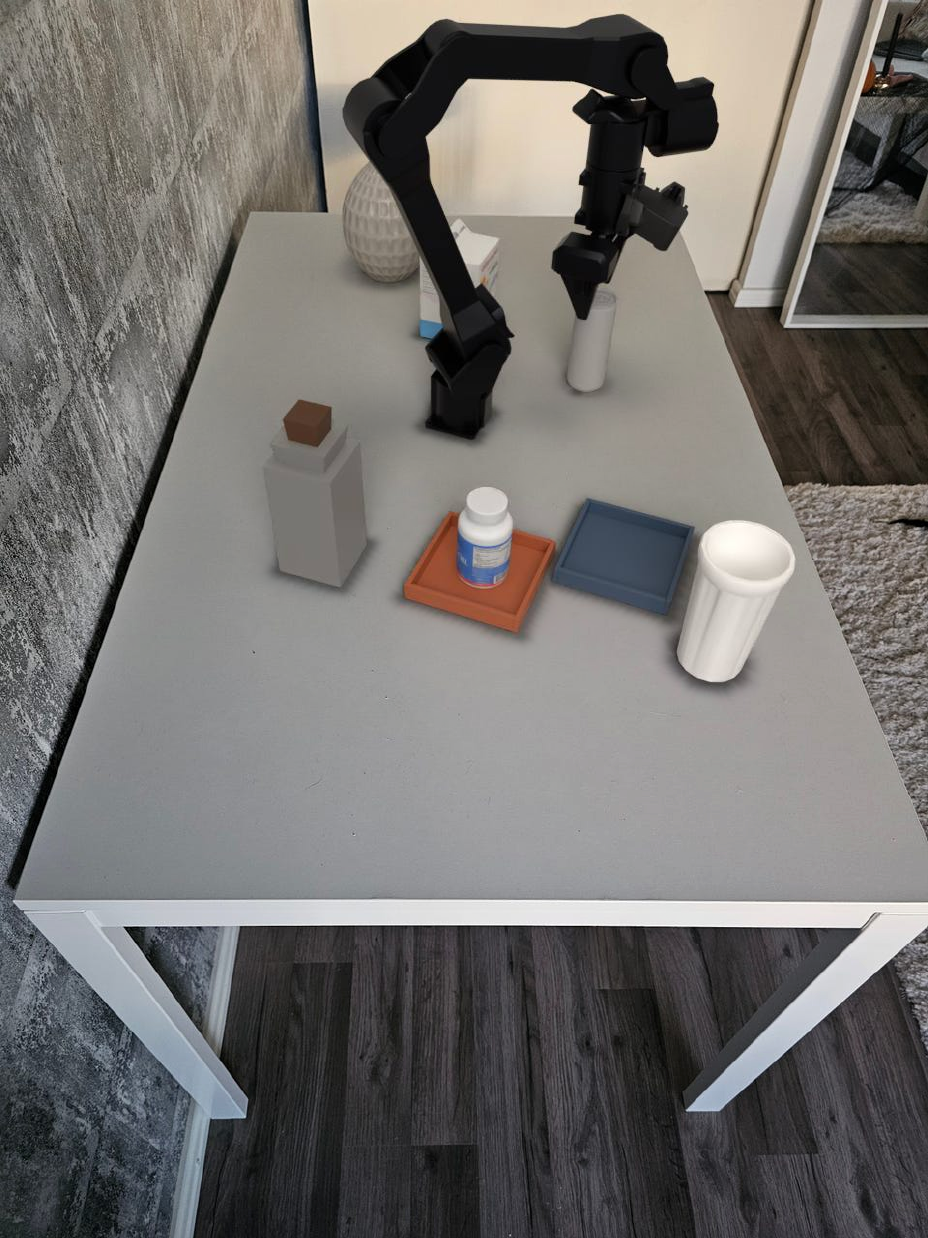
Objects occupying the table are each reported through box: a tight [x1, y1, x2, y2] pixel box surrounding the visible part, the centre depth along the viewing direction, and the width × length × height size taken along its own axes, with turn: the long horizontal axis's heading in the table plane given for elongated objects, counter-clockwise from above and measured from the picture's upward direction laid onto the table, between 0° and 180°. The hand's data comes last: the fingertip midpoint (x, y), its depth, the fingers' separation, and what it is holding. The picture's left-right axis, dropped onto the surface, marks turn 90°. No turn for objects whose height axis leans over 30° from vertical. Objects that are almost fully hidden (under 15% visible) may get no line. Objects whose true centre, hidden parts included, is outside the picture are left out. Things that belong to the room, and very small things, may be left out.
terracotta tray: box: [403, 510, 557, 634], centre depth 93 cm, size 12×12×2 cm
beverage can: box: [566, 287, 618, 393], centre depth 113 cm, size 5×5×12 cm
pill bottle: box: [457, 486, 514, 589], centre depth 90 cm, size 6×5×10 cm
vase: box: [341, 160, 420, 284], centre depth 129 cm, size 13×13×17 cm
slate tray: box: [551, 497, 696, 616], centre depth 95 cm, size 12×12×2 cm
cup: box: [676, 519, 797, 683], centre depth 82 cm, size 8×8×14 cm
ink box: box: [419, 218, 501, 340], centre depth 121 cm, size 9×8×13 cm
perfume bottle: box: [262, 399, 368, 588], centre depth 88 cm, size 7×7×18 cm
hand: (594, 300), depth 106 cm, fingers open, 9 cm apart
